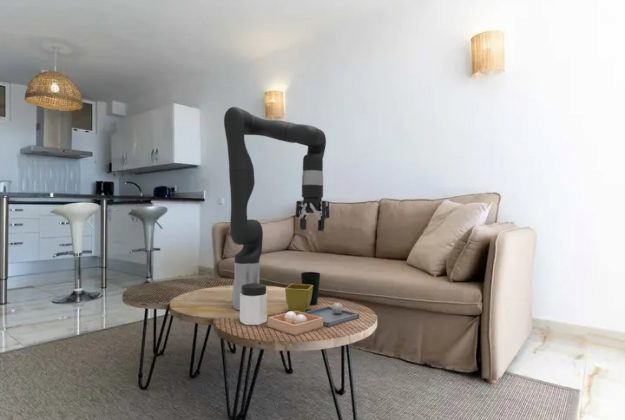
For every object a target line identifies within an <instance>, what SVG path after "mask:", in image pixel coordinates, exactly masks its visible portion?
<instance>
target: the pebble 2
mask: <svg viewBox="0 0 625 420" xmlns="http://www.w3.org/2000/svg"><path fill="white" fill-rule="evenodd" d="M331 307H332V311H333V313H335V314H340V313H341V312H342V311H343V310H344V307H343V304H342V303H340V302H334V303H333V304H332V306H331Z"/></svg>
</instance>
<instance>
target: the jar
mask: <svg viewBox="0 0 625 420" xmlns="http://www.w3.org/2000/svg"><path fill="white" fill-rule="evenodd" d="M239 322H240V323H242V324H243V325H245V326H260V325H262V324H264V323H266V322H267V323H268V293H267V285H266V284H263V283H259V284H258V283H251V284H244V285H242V286H241V293H240V310H239Z"/></svg>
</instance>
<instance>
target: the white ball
mask: <svg viewBox="0 0 625 420" xmlns="http://www.w3.org/2000/svg"><path fill="white" fill-rule="evenodd" d="M284 314H285V313H284ZM296 316H297V315H296V314H295V313H294V312H293V311H290V310H289V311H287V312H286V314H285V317H284V318H285V321H286V322H287V323H290V324H293V323H294V319H295V317H296Z"/></svg>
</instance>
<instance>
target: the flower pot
mask: <svg viewBox="0 0 625 420" xmlns="http://www.w3.org/2000/svg"><path fill="white" fill-rule="evenodd" d="M312 290H313V285H304V284H302V283H290V284H289V285H288V286H286V287H285V289H284V291H285V301H286V304H287V307H288V309H289V311H299V312H306V311H308V308H309V306H310V305H309V304H310V302H311V298H312Z"/></svg>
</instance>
